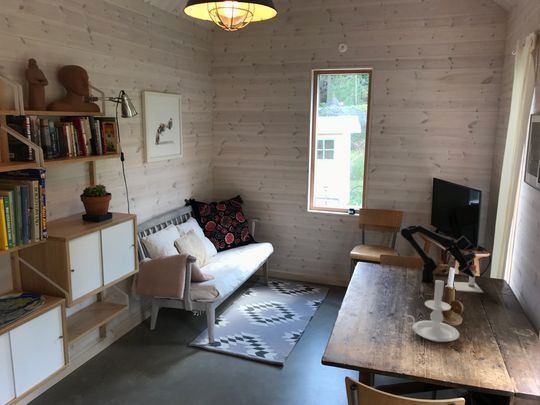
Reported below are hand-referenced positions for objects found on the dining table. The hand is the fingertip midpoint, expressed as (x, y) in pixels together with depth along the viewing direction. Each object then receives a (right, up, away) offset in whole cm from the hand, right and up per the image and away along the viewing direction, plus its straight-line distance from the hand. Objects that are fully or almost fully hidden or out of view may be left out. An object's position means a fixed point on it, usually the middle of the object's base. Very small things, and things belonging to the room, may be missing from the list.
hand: (475, 274), depth 265 cm
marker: (-1, -7, +2) cm, 8 cm away
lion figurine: (-11, -4, +26) cm, 28 cm away
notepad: (-5, -8, +2) cm, 10 cm away
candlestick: (-49, -19, -60) cm, 80 cm away
